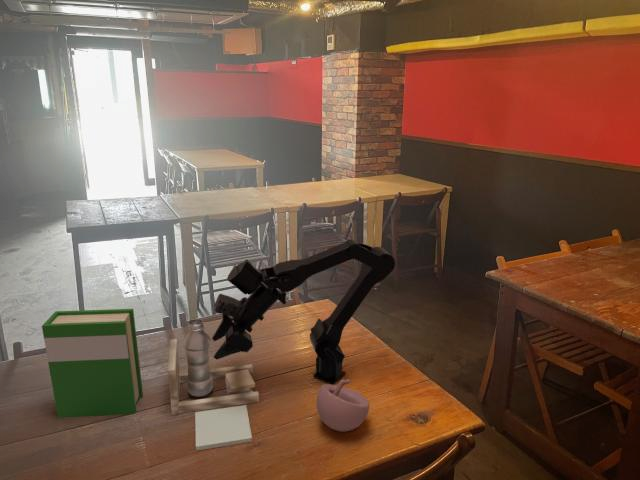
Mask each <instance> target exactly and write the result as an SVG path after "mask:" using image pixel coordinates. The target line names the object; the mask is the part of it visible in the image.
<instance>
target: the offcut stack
mask: <svg viewBox="0 0 640 480" xmlns="http://www.w3.org/2000/svg"><path fill="white" fill-rule="evenodd" d="M224 380H225V387H226V393H227V395H235V394H242V393H249V392H254V389H253V388H255V387H256V383H255V381H254V379H253V377H252V374H250V373H249V371H248V369H246V370H242V371H237V372H232V373H227V374H225V377H224ZM227 395H226V396H227Z"/></svg>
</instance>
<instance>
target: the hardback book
mask: <svg viewBox="0 0 640 480" xmlns="http://www.w3.org/2000/svg"><path fill="white" fill-rule="evenodd" d="M41 329H42V330H41V331H42V335H43V341H44V347H45V352H46V357H47V362H48V368H49V369H48V370H49V374H50V379H51V386H52V391H53V397H54V403H55V409H56V413H57V418H58V419H63V418H66V419H67V418H81V417H82V418H84V417H85V418H86V417H99V416H100V417H102V416H103V417H104V416H121V415H136V414H137V402H138V398H139V399H140V398H143V397H144V393H143V392H144V391H143V383H142V374H141V367H140V366H141V365H140V358H139V357H140V355H139V347H138V340H137V339H138V338H137V330H136V329H137V328H136V321H135V312H134V308H117V309H116V308H114V309H111V308H110V309H89V310H88V309H85V310H84V309H83V310H82V309H80V310H58V311H57V310H56V311H54V313H52V315H51V316H49V317H48V319H47V320H46V321H45V322H43V324H42V325H41Z"/></svg>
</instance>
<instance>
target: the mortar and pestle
mask: <svg viewBox="0 0 640 480" xmlns="http://www.w3.org/2000/svg"><path fill="white" fill-rule="evenodd" d="M350 383H351V380H350V379H349V378H348V379H341V380H340V379H339V382H338V384H337V385H335V384H330V383H327V384H322V385H321V387H320V389H319V390H318V392H317V396H316V397H317V398H316V411H317V413H318V415H319V418H320V420H321V421H322V422H323V424H325V425H326V426H327V427H329V428H330V429H332V430H334V431H338V432H348V431H352V430H354V429H357V428H359V426H360V425H361V424H363V422H364V421H365V420H366V419H367V416H368V414H369V409H370V403H369V401H368V399H367V398H366V397H365V396H364V395H363V394H361V393H360V392H359V391H357V390H353V389H351V388H348V387H344V386H345V385H349V384H350Z"/></svg>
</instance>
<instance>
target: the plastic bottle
mask: <svg viewBox="0 0 640 480" xmlns="http://www.w3.org/2000/svg"><path fill="white" fill-rule="evenodd" d="M187 329H188V332H187V334H186V335H185V337H184V339H183V346H184V347H183V348H184V351H185V355H186V361H187V372H188V378H187V382H186V389H187V391H188V393H189V394H190V395H191V396H193V397H196V398H201V397H205V396H208V395H209V394H210V393H211V392H212V391H213V387H214V380H213V379H212V375H211V371H210V369H211V367H210V352H211V351H210V350H211V338H210V336H209V334H208V332H206V331H205V325H204V320H203V319H201V318H192V319H189V320H188V321H187Z"/></svg>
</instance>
